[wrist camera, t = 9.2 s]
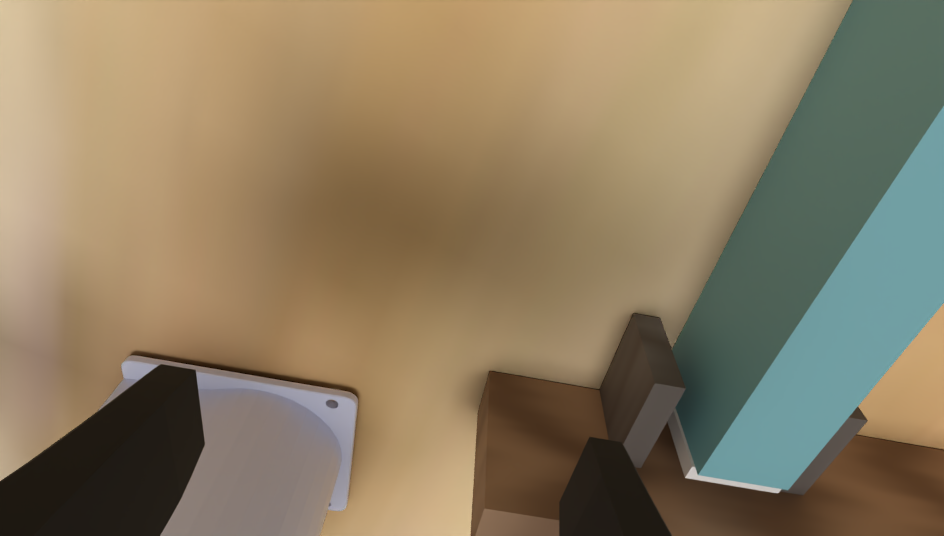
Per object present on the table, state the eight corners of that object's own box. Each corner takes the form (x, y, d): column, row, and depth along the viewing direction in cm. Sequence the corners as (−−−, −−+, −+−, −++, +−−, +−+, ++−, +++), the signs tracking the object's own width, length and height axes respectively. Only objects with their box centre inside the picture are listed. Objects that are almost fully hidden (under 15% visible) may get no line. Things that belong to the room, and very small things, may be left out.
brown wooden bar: (477, 413, 23) (469, 551, 18) (512, 291, 20) (513, 422, 15) (921, 488, 25) (1027, 638, 20) (1029, 385, 21) (1192, 537, 16)
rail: (652, 375, 22) (687, 486, 18) (862, -35, 14) (1013, -9, 10) (730, 389, 22) (781, 501, 18) (980, -9, 14) (1177, 29, 10)
